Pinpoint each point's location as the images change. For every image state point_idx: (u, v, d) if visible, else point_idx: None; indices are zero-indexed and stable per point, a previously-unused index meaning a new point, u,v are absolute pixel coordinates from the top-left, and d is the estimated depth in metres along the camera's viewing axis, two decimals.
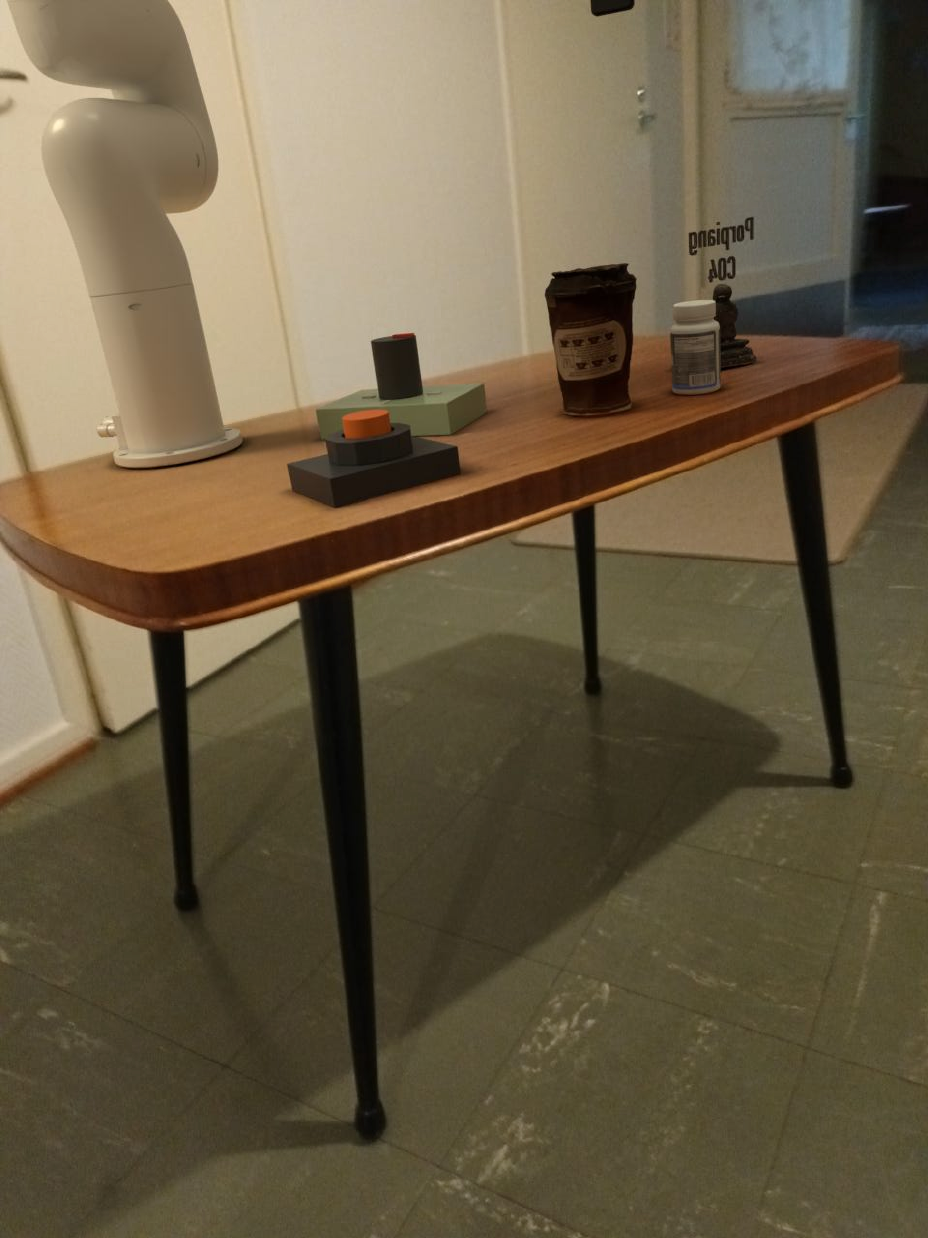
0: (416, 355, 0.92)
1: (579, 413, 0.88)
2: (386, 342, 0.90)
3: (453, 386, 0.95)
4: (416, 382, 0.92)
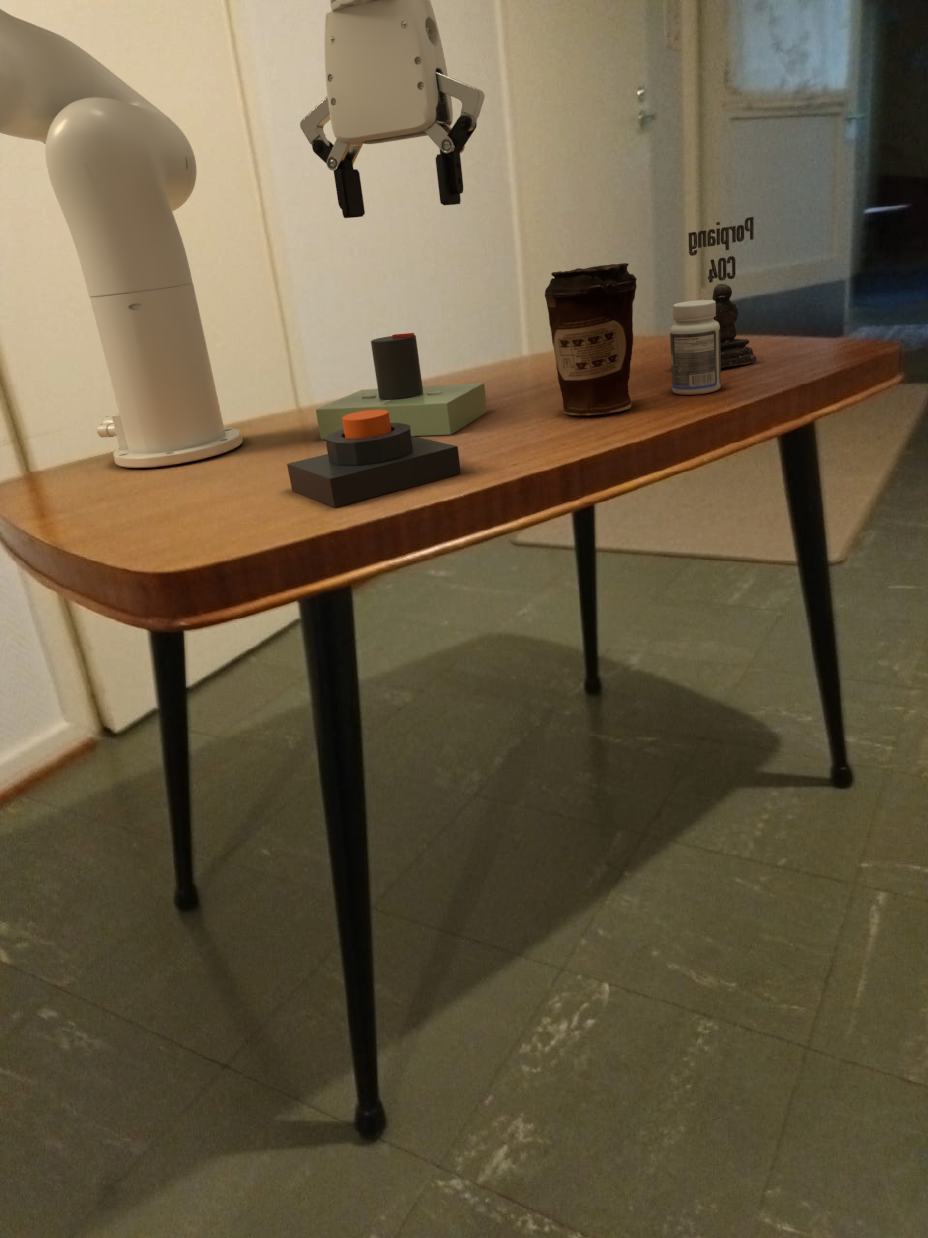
0: (416, 355, 0.92)
1: (579, 413, 0.88)
2: (386, 342, 0.90)
3: (453, 386, 0.95)
4: (416, 382, 0.92)
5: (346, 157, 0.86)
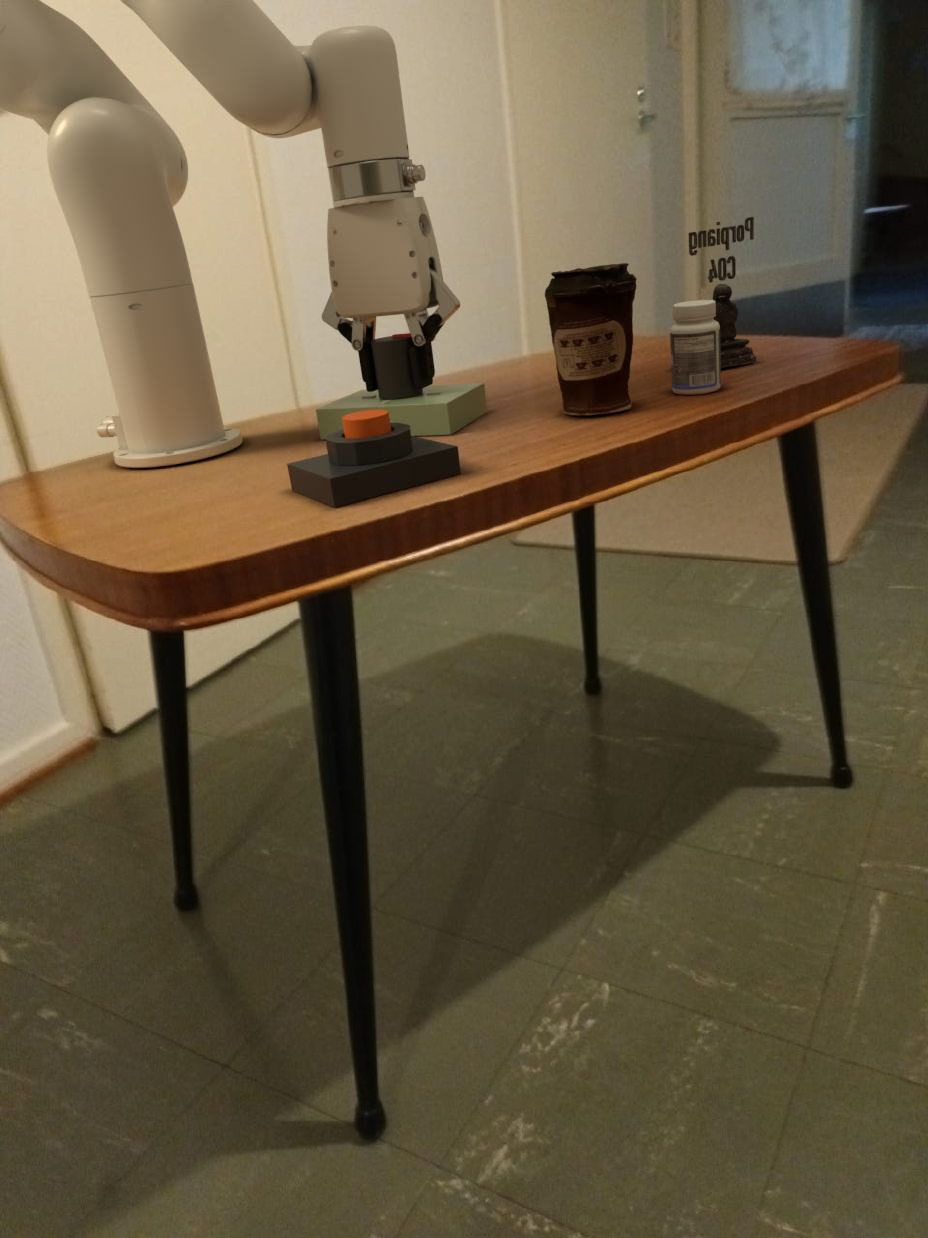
0: None
1: (579, 413, 0.88)
2: (386, 342, 0.90)
3: (453, 386, 0.95)
4: None
5: (367, 335, 0.93)
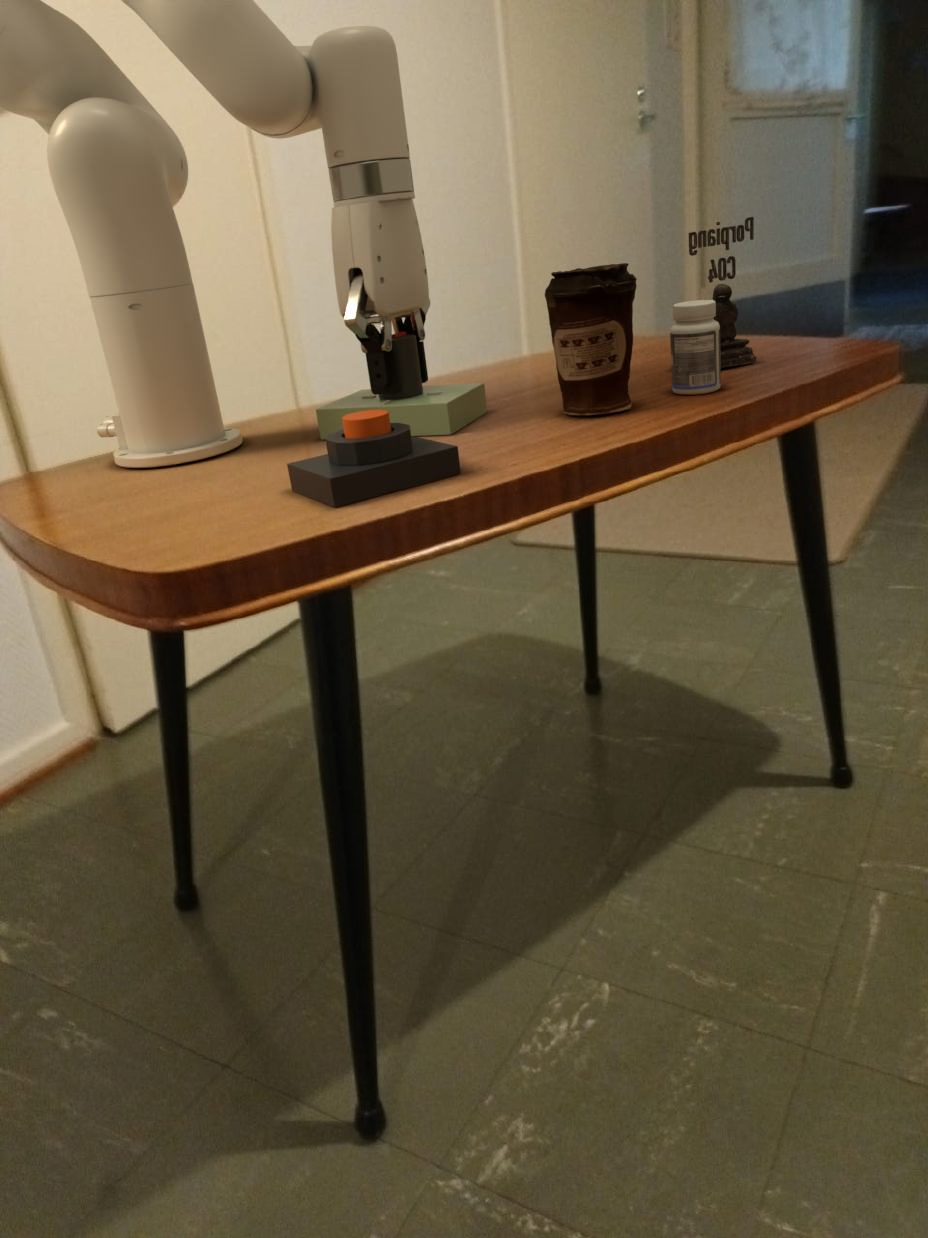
0: None
1: (579, 413, 0.88)
2: (414, 337, 0.91)
3: (453, 386, 0.95)
4: None
5: None
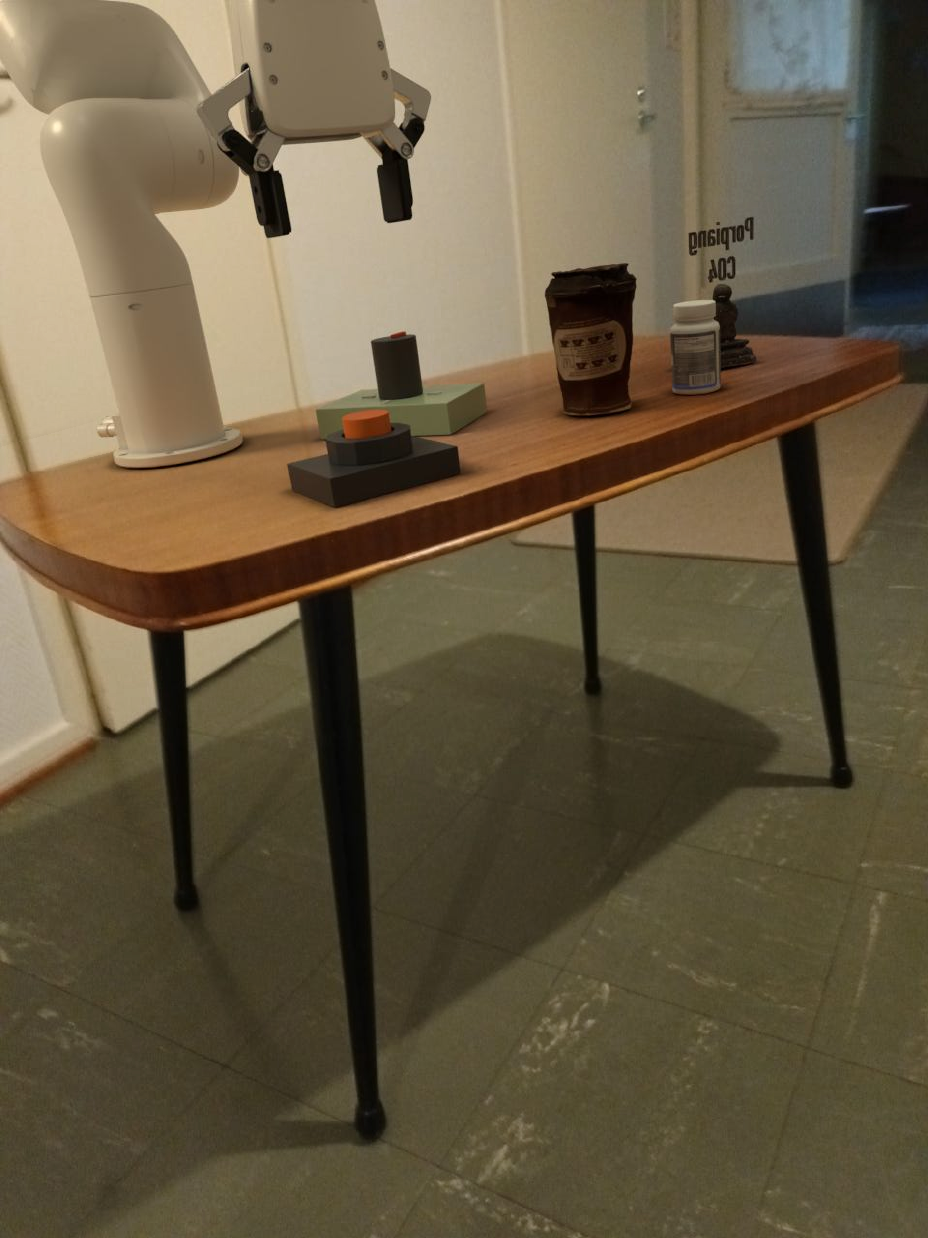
0: None
1: (579, 413, 0.88)
2: (414, 337, 0.91)
3: (453, 386, 0.95)
4: None
5: None
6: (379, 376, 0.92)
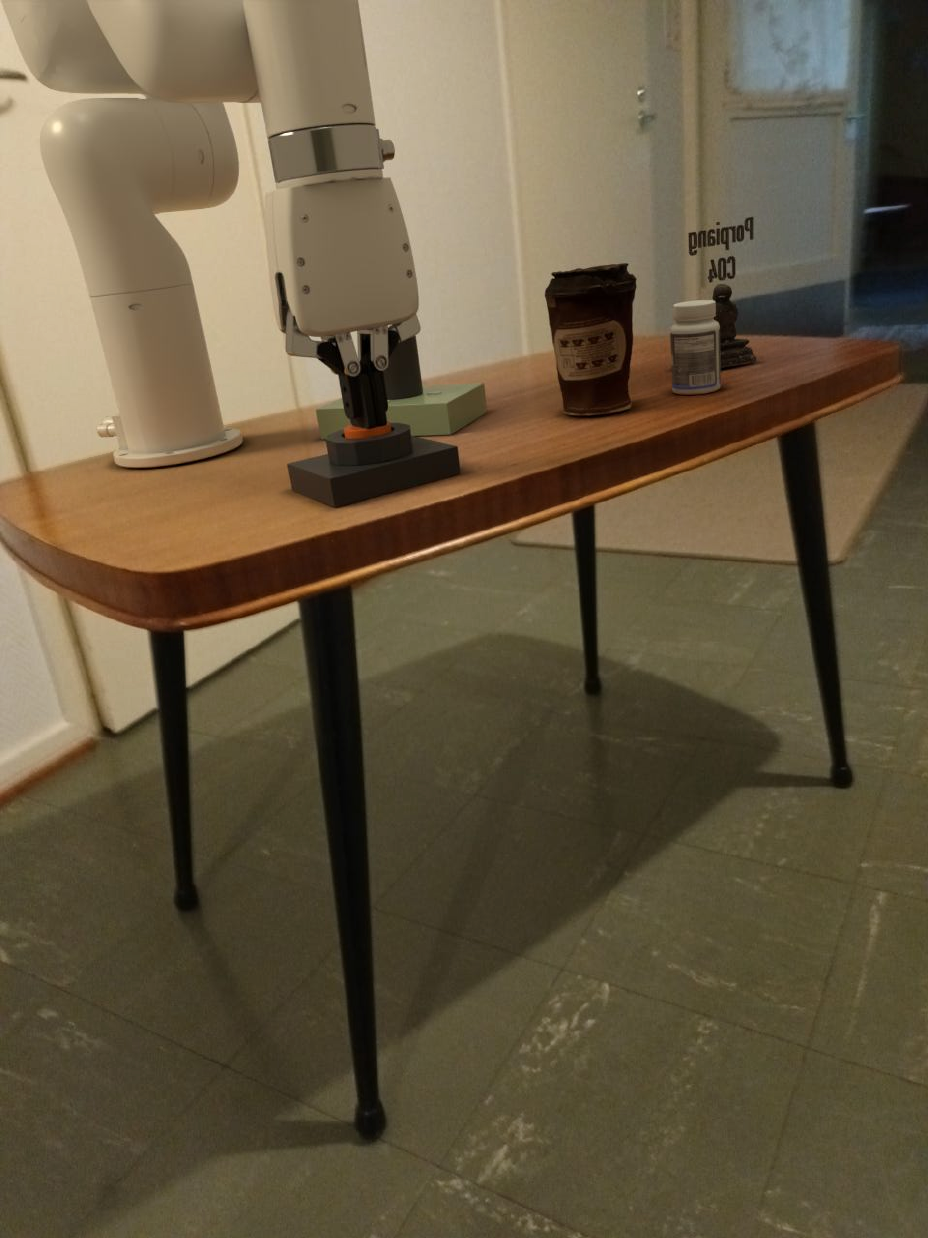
0: None
1: (579, 413, 0.88)
2: (414, 337, 0.91)
3: (453, 386, 0.95)
4: None
5: None
6: None
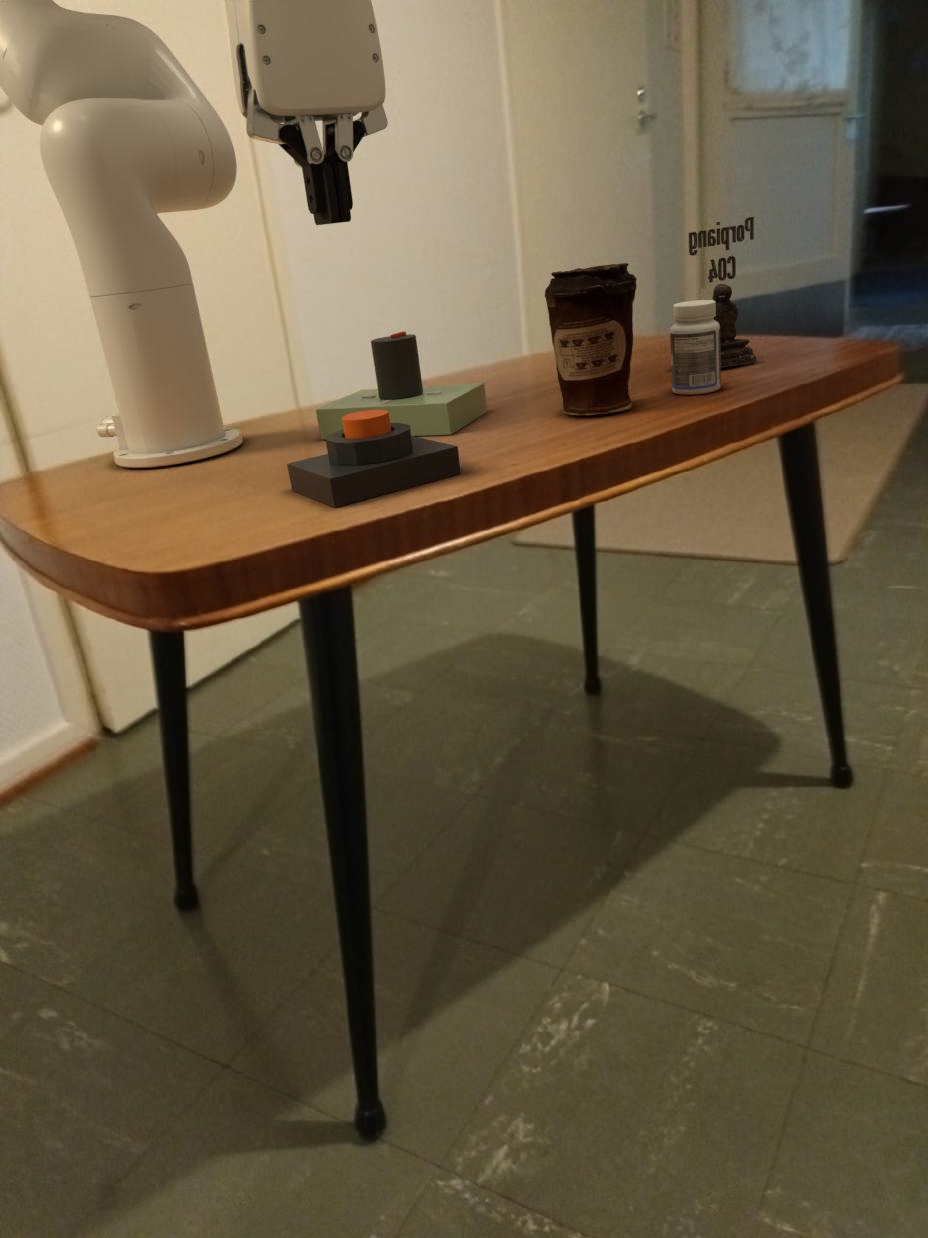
0: None
1: (579, 413, 0.88)
2: (414, 337, 0.91)
3: (453, 386, 0.95)
4: None
5: None
6: (379, 376, 0.92)
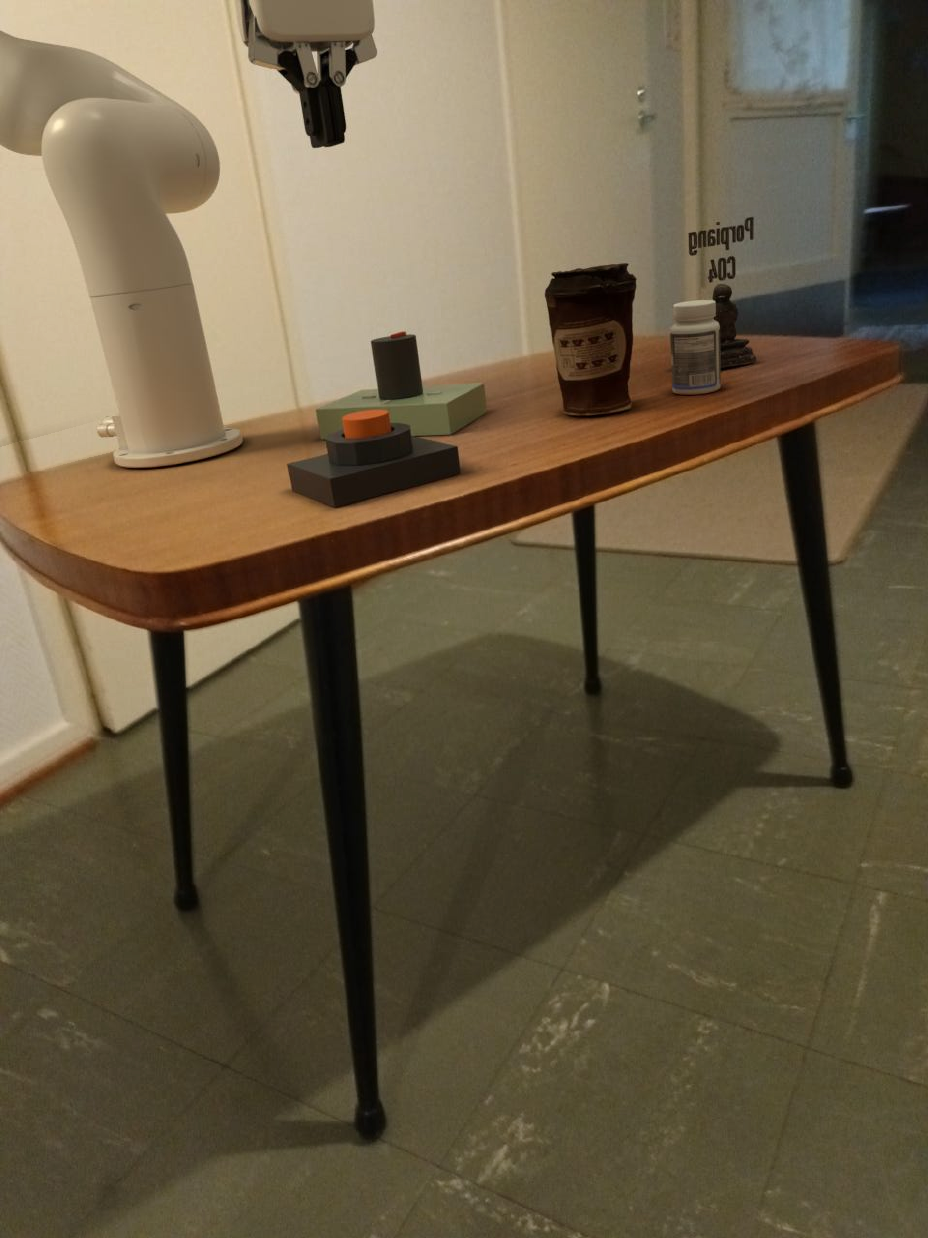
0: None
1: (579, 413, 0.88)
2: (414, 337, 0.91)
3: (453, 386, 0.95)
4: None
5: None
6: (379, 376, 0.92)
